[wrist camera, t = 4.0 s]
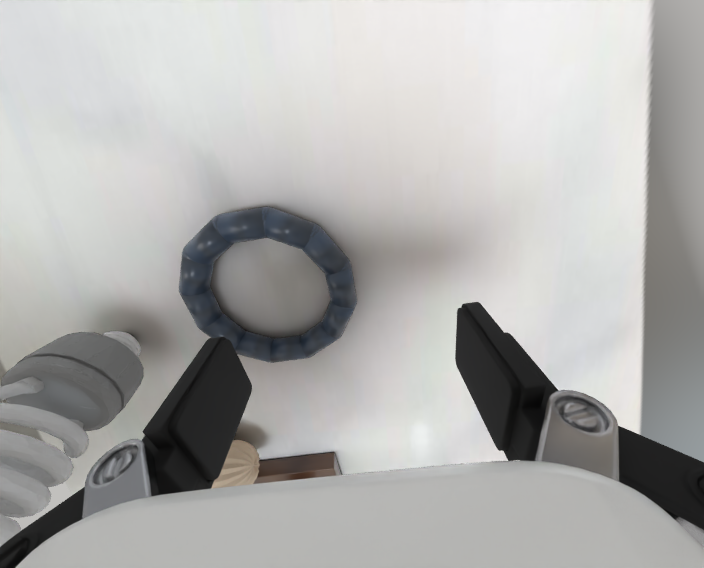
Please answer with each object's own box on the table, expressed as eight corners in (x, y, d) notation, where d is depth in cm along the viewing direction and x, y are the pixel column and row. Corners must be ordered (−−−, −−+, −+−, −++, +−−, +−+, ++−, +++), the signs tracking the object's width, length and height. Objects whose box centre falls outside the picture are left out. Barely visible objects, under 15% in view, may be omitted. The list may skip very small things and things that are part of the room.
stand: (271, 505, 30) (240, 664, 21) (244, 462, 26) (190, 637, 17) (349, 497, 30) (351, 656, 21) (334, 451, 26) (329, 625, 16)
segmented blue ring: (226, 358, 20) (217, 375, 18) (157, 222, 15) (137, 230, 13) (364, 339, 19) (365, 355, 18) (339, 192, 14) (338, 197, 13)
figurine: (127, 524, 25) (268, 505, 22) (73, 537, 21) (233, 517, 18) (145, 451, 28) (271, 426, 25) (102, 452, 24) (241, 423, 22)
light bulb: (65, 315, 18) (-358, 575, 7) (138, 293, 17) (-204, 543, 6) (122, 373, 20) (-123, 628, 10) (188, 356, 20) (3, 609, 9)
